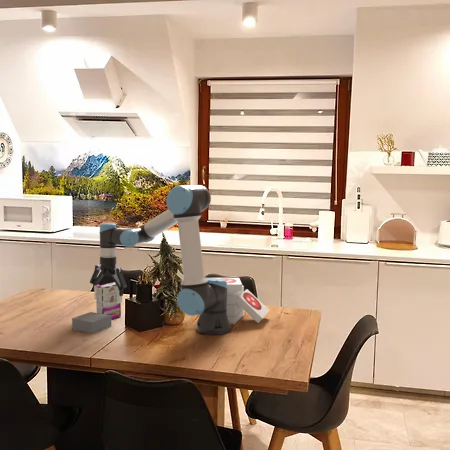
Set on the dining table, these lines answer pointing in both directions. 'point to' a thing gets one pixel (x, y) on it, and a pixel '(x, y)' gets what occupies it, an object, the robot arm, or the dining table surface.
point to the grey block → (91, 322)
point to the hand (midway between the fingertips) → (108, 300)
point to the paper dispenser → (242, 302)
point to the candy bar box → (108, 300)
